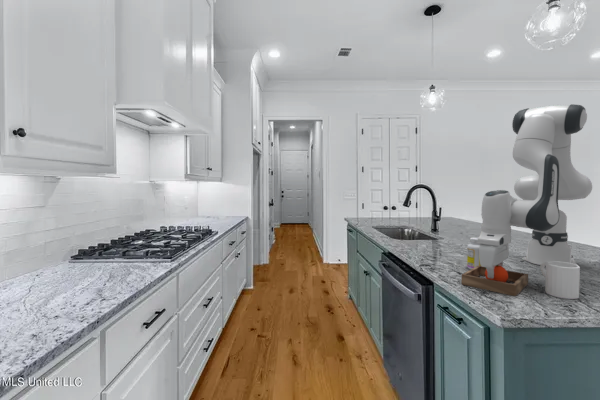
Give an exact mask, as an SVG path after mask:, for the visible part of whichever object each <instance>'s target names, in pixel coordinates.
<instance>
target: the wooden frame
mask: <svg viewBox="0 0 600 400" xmlns="http://www.w3.org/2000/svg"><path fill="white" fill-rule="evenodd" d="M485 270H486V267H482V266H476V267H474V268H473V269H468V270H467V271H466V272H464V273H462V274H461V285H463V286H466V287H467V286H468V287H472V288H477V289H482V290H485V289H486V290H485V291H489V290H490V292H494V293H498V294H499V293H500V294H504V295H508V296H512V297H516V296H518V295H519V294H520V293H521V292H522V290H524V289H525V288H526V287H527V286H528V285H529V273H523V272H517V271H512V270H506V269H505V270H506V271H507V273H508V280H507V281H508V282H507V281H506V282H500V281H495V280H490V279H486V277H485ZM480 276H482V277H480ZM484 277H485V278H484ZM509 282H513V283H509Z"/></svg>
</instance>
